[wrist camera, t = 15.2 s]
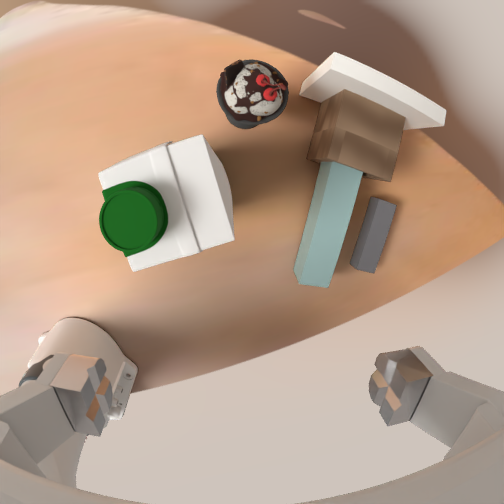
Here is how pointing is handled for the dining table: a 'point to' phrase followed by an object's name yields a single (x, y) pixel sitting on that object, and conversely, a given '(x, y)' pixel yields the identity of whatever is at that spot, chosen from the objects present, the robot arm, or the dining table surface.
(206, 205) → the milk carton
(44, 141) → the dining table surface
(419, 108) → the wall
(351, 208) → the peg
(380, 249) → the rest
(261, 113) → the sundae
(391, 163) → the block
